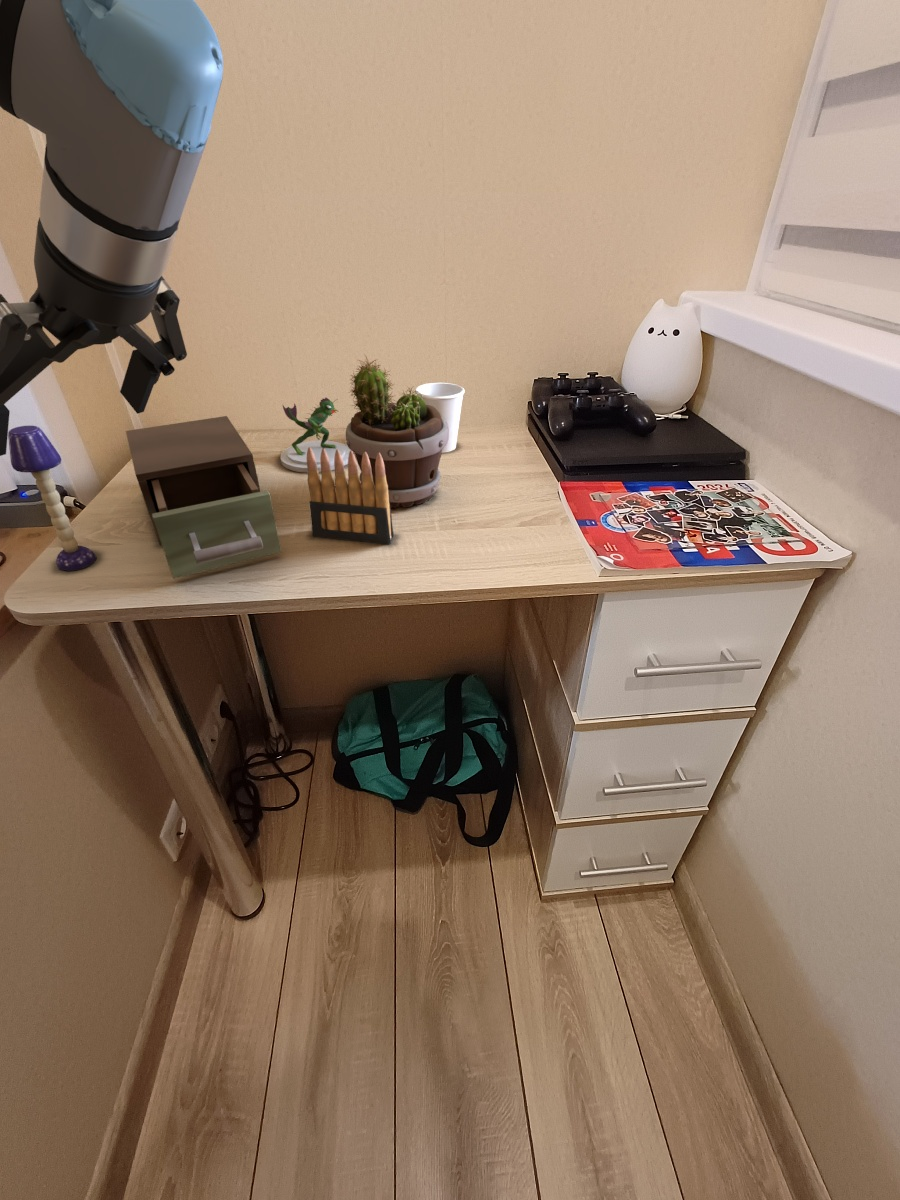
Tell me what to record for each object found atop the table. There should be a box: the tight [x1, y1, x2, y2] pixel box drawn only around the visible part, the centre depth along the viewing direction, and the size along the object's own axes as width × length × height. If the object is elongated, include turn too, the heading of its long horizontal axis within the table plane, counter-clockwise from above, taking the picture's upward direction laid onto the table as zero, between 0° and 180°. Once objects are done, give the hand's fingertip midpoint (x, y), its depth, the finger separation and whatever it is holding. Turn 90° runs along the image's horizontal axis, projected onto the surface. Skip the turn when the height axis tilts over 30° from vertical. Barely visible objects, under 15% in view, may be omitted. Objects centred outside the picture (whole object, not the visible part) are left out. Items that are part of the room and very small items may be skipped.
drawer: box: [151, 463, 282, 579], centre depth 70 cm, size 22×13×8 cm, turn 28°
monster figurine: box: [279, 397, 353, 474], centre depth 94 cm, size 12×12×10 cm
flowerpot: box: [345, 353, 449, 509], centre depth 81 cm, size 14×15×20 cm
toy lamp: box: [7, 425, 97, 572], centre depth 66 cm, size 5×5×17 cm
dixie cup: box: [414, 382, 465, 454], centre depth 99 cm, size 8×8×10 cm
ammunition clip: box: [307, 447, 395, 545], centre depth 72 cm, size 11×2×12 cm, turn 79°
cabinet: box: [125, 415, 261, 546], centre depth 80 cm, size 17×14×10 cm
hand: (67, 421), depth 55 cm, fingers open, 13 cm apart
